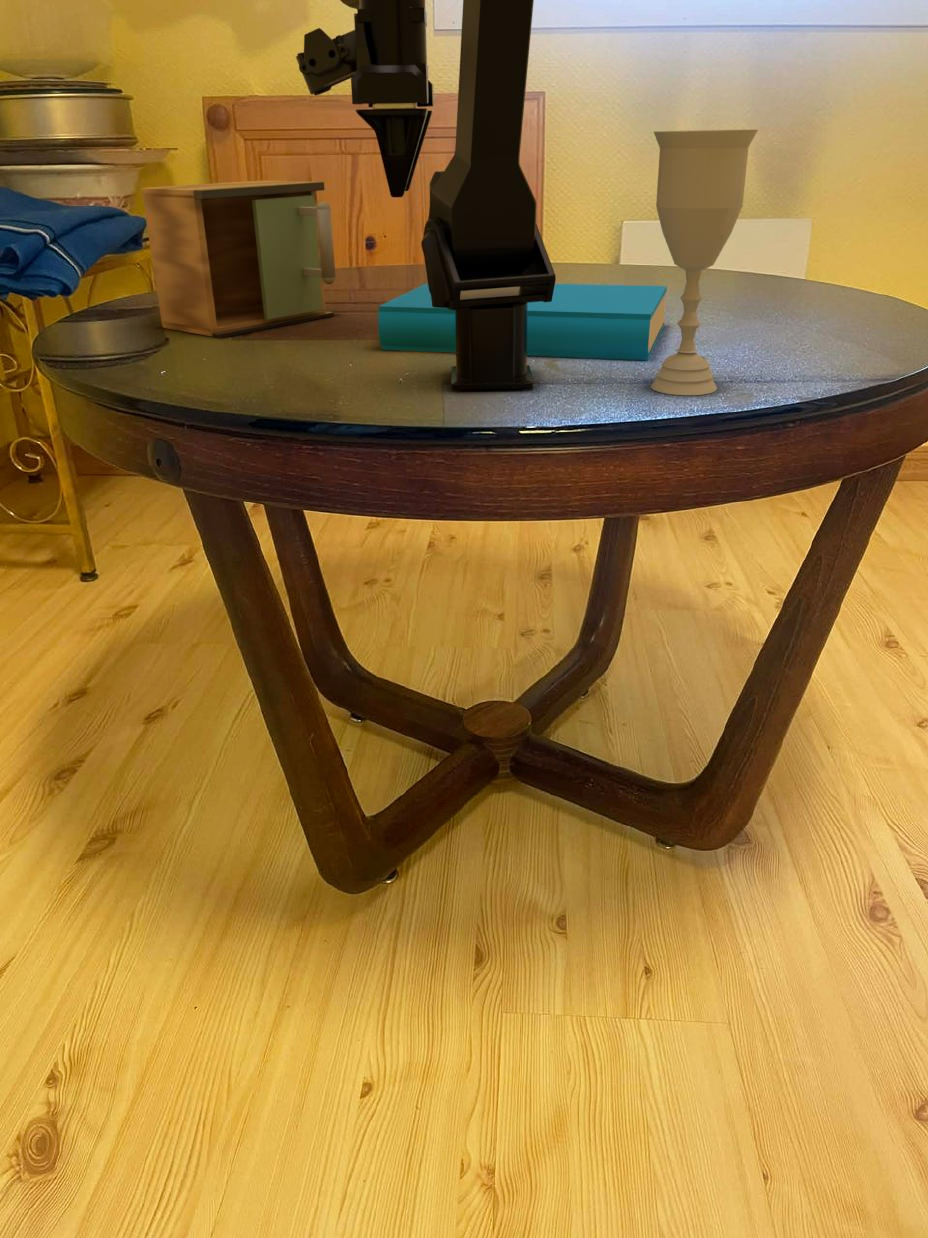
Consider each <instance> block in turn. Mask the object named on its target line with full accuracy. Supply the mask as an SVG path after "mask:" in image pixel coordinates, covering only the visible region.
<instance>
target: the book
mask: <svg viewBox="0 0 928 1238" xmlns="http://www.w3.org/2000/svg"><path fill="white" fill-rule="evenodd" d="M667 292H668V285H631V284H629V285H627V284H626V285H625V284H583V283H555V286H554V292H553V297H552V301H551V302H542V301H541V302H529V303H528V308H527V357H528V356H531V357H532V356H533V357H553V358H554V357H557V358H579V359H580V358H581V359H605V360H633V361H649V359H650V357H651V355H652V352H653V351H654V348H655V346H656V345H657V342H658V340H659V338H660V336H661V334H662V332H663V330H664V328H665V309H666V297H667V295H666V294H667ZM377 332H378V339H379V343H380V349H381V350H382V351H404V352H405V351H407V352H428V353H429V352H432V353H455V354H456V333H455V310H450V309H447V308H436V307H432V300H431V294H430V292H429V287H428V282H426V283H423V284H422V285H420V286H418V287H416V288H414V289H411V290H409V291H408V292H406V293H403V294H401V295H399V296H397V297H395V298H393V299H391V300H389V301H386V302H385V303H383V304H381V305H379V306H378V319H377Z"/></svg>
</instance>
